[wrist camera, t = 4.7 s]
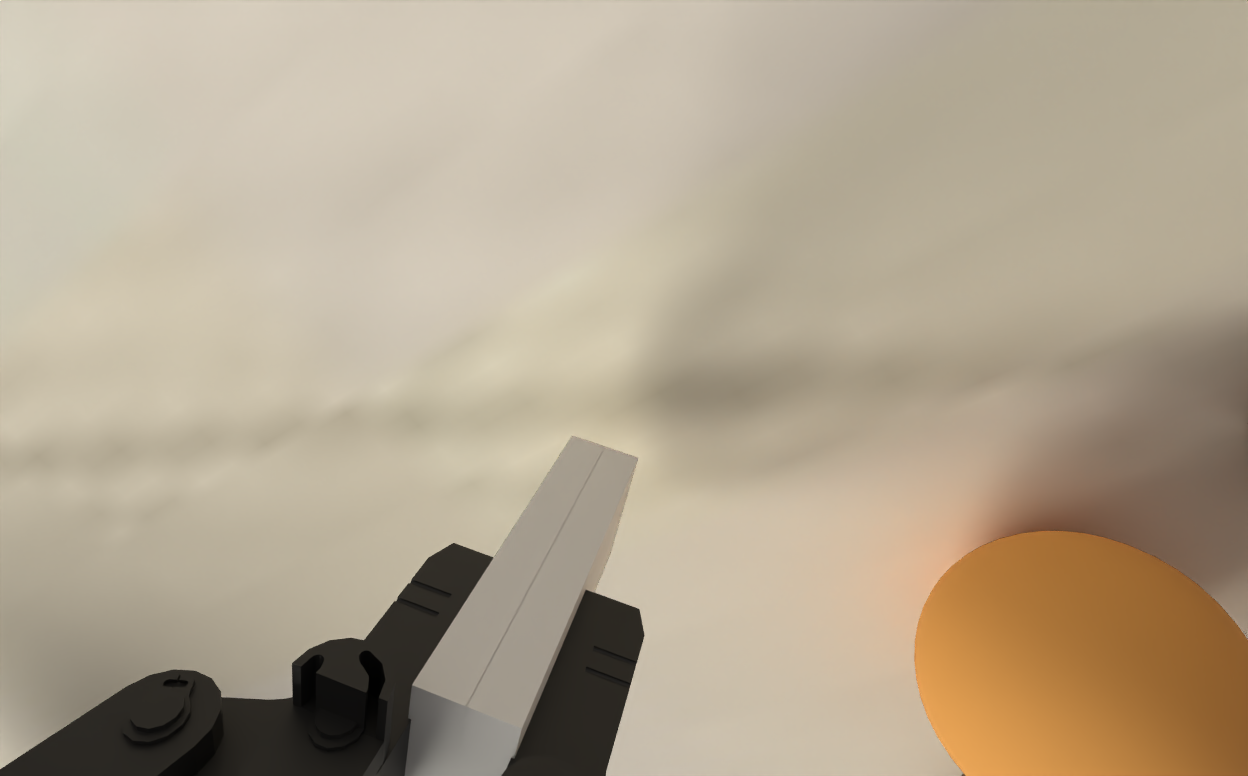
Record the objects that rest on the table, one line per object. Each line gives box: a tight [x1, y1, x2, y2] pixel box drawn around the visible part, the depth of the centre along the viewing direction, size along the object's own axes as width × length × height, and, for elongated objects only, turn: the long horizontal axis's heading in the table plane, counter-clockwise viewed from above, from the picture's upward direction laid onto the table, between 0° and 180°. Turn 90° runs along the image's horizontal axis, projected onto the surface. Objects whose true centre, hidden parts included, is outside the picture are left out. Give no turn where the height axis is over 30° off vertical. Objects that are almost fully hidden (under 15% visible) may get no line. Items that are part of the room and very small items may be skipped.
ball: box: [914, 531, 1248, 776], centre depth 12 cm, size 6×6×6 cm
